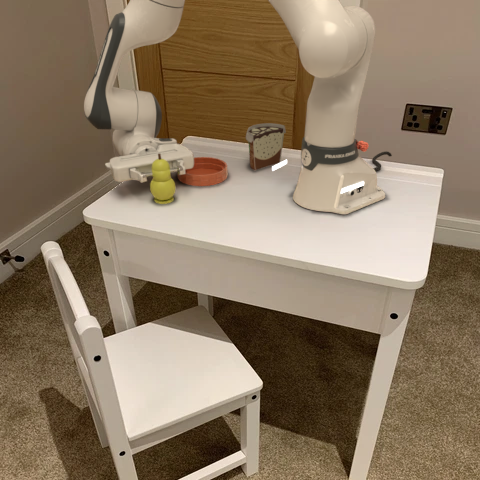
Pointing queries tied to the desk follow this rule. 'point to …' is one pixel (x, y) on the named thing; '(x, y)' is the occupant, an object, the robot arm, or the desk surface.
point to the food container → (265, 144)
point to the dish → (205, 172)
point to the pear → (162, 182)
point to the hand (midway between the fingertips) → (163, 175)
